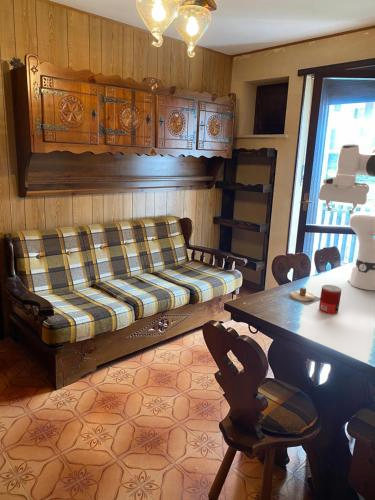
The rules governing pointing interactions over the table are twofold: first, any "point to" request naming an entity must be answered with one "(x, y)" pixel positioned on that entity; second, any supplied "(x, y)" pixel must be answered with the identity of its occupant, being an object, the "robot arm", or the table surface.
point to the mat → (302, 301)
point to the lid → (302, 295)
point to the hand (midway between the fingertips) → (339, 212)
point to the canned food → (330, 299)
